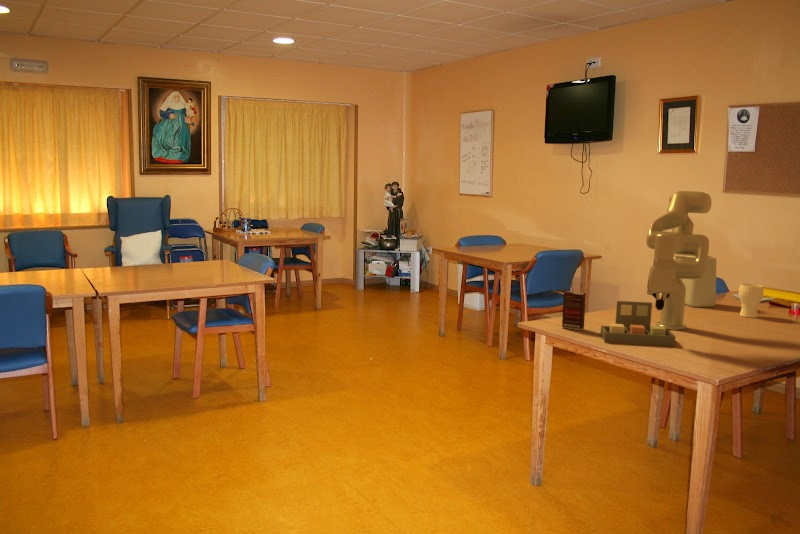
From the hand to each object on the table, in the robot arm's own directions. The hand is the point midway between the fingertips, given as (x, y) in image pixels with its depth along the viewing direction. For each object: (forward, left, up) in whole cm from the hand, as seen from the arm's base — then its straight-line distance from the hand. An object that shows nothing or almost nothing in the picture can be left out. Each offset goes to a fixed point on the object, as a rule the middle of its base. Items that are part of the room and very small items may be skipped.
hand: (659, 309), depth 280 cm
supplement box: (-16, -32, -14) cm, 38 cm away
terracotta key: (-1, -8, -11) cm, 13 cm away
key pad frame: (-1, -8, -14) cm, 16 cm away
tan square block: (-1, -16, -11) cm, 19 cm away
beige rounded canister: (-86, +37, -14) cm, 94 cm away
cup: (-63, +55, -14) cm, 85 cm away
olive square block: (-1, 0, -11) cm, 11 cm away
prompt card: (-11, -8, -14) cm, 19 cm away
